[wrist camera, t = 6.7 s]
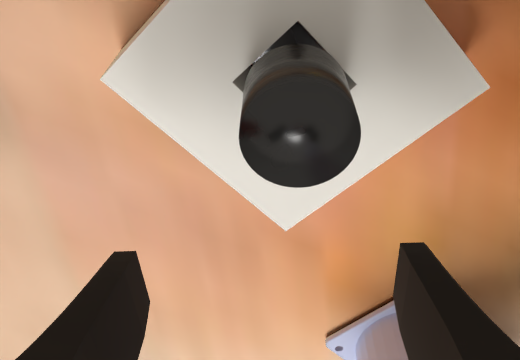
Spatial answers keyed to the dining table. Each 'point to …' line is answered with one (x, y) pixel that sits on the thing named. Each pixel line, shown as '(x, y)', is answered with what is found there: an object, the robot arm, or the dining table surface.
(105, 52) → the dining table surface
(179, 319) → the dining table surface
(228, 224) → the dining table surface
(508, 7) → the dining table surface
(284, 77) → the plunger
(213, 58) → the block
